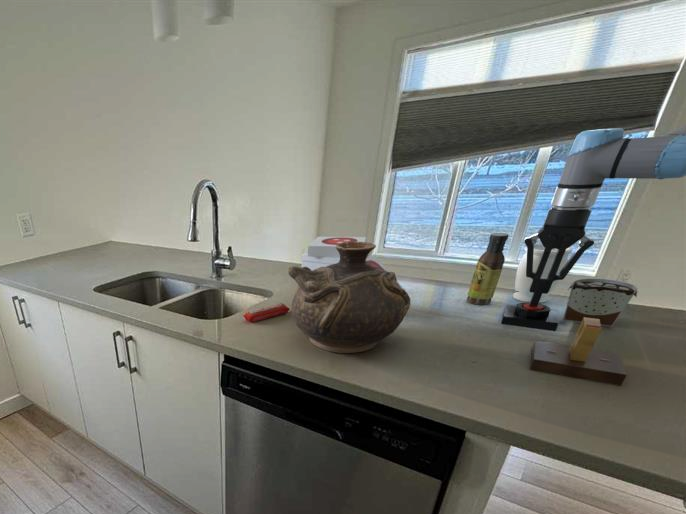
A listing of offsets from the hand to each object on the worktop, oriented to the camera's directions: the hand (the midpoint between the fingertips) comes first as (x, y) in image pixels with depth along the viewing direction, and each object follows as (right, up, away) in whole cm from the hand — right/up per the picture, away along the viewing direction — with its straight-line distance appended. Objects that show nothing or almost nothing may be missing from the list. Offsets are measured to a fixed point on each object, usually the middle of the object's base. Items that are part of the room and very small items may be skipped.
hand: (533, 304), depth 105 cm
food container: (+14, -4, 0) cm, 15 cm away
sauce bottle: (-2, +4, +16) cm, 17 cm away
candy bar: (-65, 0, +20) cm, 68 cm away
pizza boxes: (-37, +7, +28) cm, 47 cm away
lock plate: (-8, -17, -19) cm, 27 cm away
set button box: (0, -4, +2) cm, 5 cm away
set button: (0, -2, +1) cm, 2 cm away
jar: (+13, +5, +15) cm, 21 cm away
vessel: (-50, -9, +2) cm, 50 cm away
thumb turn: (-9, -15, -20) cm, 26 cm away
